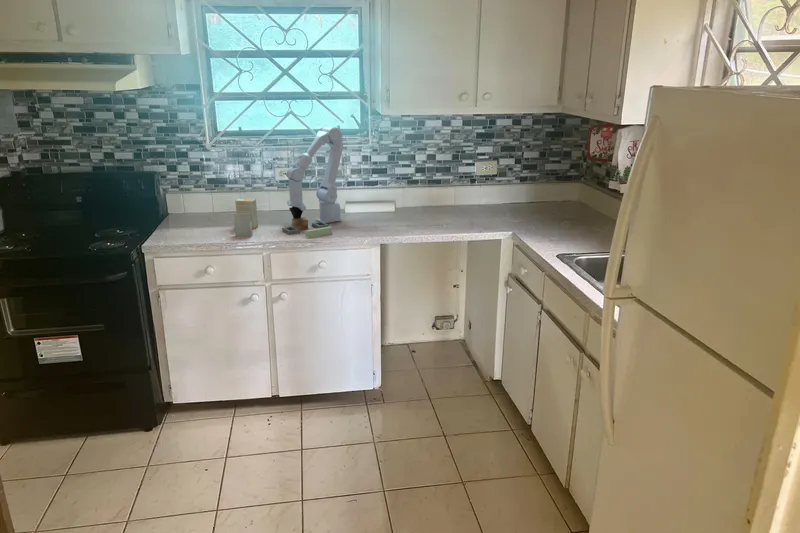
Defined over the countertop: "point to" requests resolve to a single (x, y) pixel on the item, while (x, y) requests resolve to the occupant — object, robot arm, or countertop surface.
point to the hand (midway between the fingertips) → (297, 222)
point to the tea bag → (243, 225)
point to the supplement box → (247, 209)
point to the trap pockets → (320, 231)
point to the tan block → (300, 223)
